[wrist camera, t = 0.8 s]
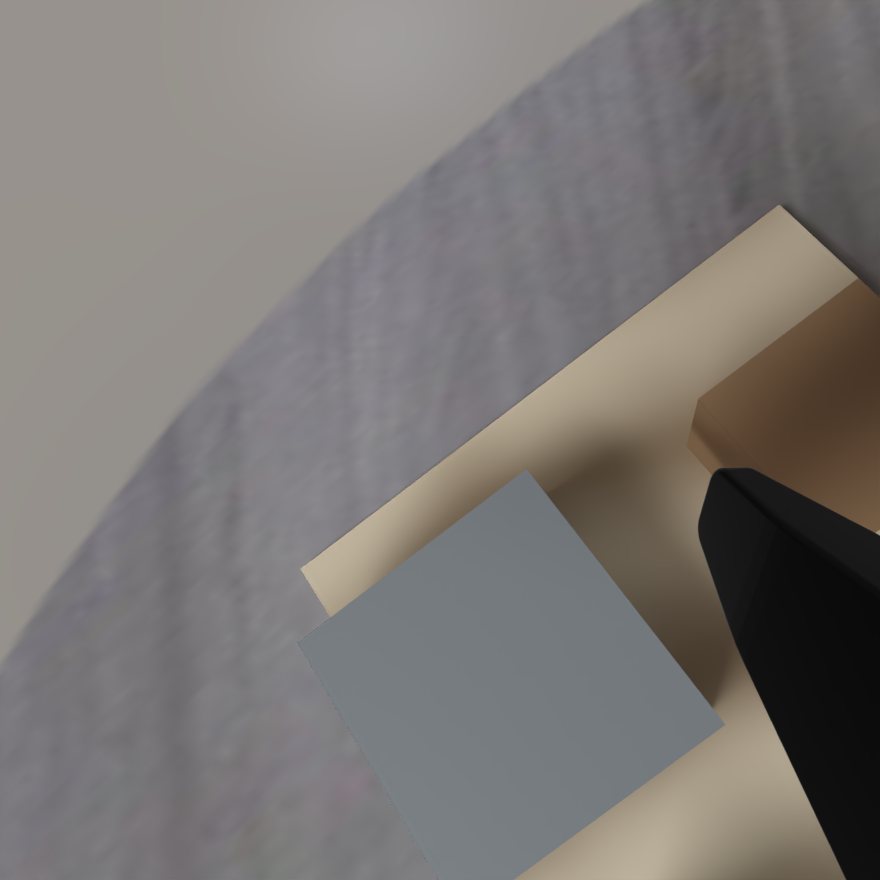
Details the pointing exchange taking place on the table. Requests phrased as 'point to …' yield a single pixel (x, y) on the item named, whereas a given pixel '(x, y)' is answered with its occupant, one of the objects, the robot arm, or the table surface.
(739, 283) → the birch board
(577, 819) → the slate block
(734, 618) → the robot arm
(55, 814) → the table surface
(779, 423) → the walnut cube
